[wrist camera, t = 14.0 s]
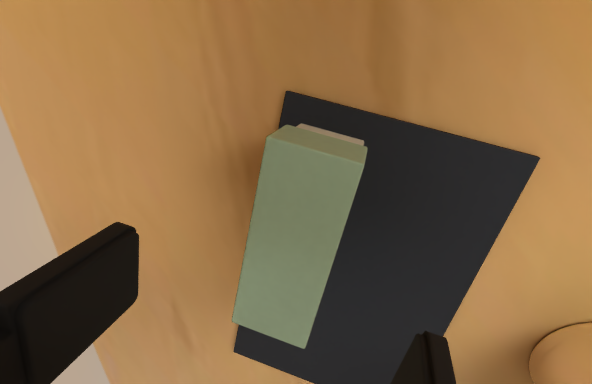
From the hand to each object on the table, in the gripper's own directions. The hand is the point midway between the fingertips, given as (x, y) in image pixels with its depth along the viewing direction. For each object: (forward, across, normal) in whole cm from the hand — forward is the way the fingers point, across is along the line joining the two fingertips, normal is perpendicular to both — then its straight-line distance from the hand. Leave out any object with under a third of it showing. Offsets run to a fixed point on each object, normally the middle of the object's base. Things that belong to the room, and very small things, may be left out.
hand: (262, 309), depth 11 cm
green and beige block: (+10, 0, +1) cm, 10 cm away
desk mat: (+10, -3, +5) cm, 12 cm away
